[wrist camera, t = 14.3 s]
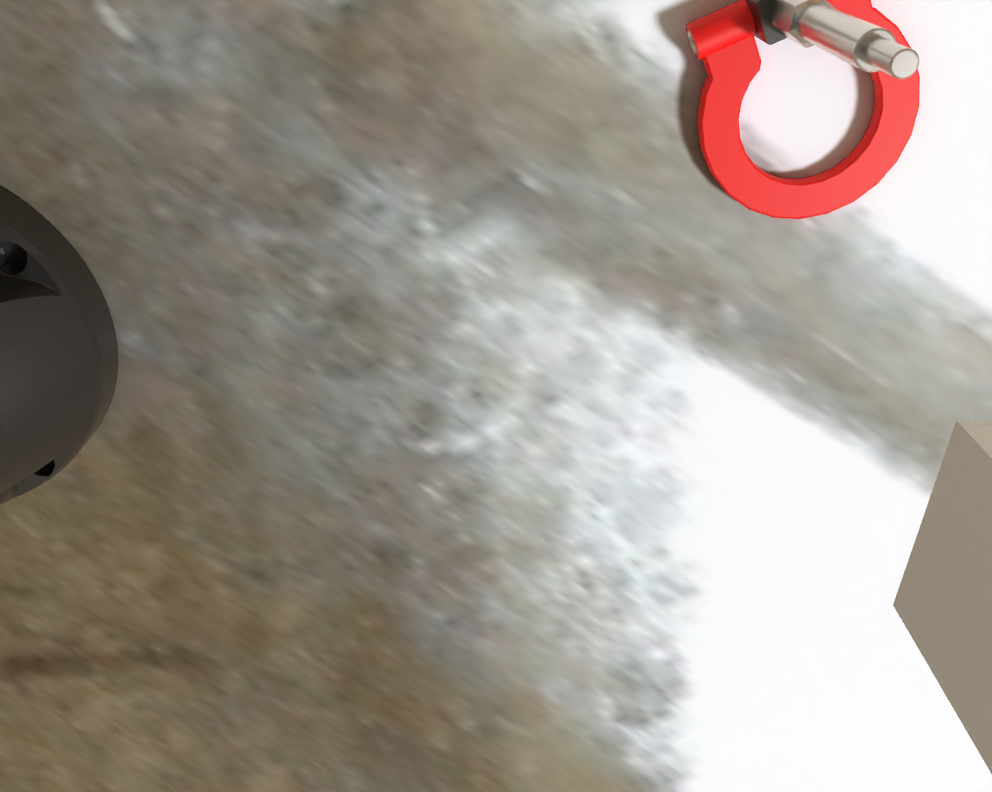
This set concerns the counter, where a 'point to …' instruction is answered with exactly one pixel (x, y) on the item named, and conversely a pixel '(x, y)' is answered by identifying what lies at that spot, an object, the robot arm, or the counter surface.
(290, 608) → the counter surface
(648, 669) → the counter surface
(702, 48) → the tow hook
